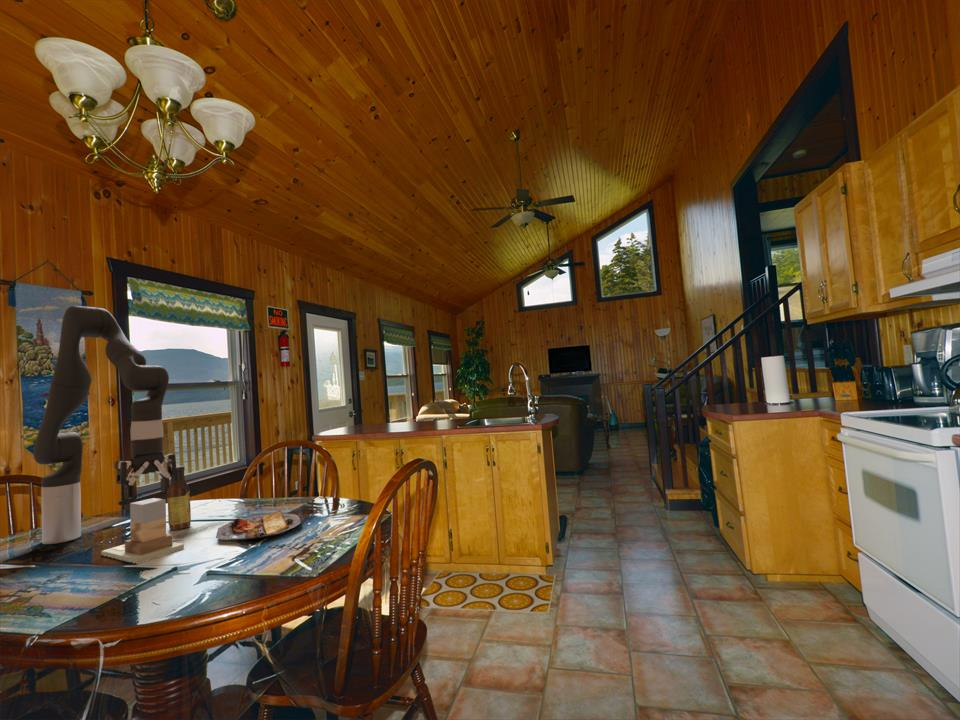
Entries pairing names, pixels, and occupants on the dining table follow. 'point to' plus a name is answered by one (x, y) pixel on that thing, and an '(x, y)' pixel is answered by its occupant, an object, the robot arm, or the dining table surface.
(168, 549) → the build board
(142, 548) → the base brick
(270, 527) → the food plate
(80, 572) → the dining table surface
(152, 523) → the oak brick
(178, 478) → the sauce bottle
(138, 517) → the grey brick
